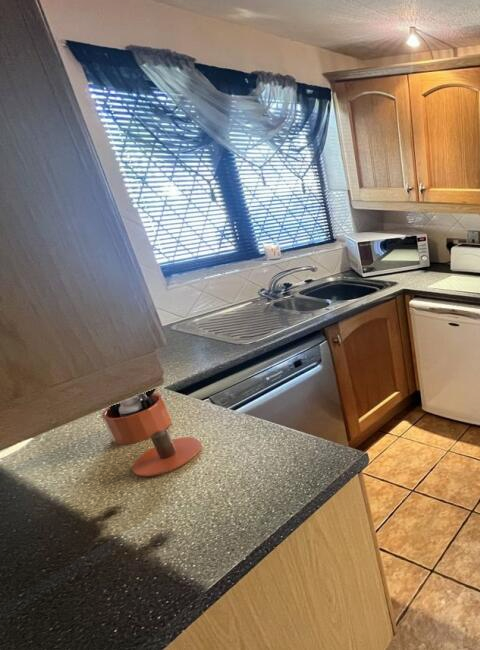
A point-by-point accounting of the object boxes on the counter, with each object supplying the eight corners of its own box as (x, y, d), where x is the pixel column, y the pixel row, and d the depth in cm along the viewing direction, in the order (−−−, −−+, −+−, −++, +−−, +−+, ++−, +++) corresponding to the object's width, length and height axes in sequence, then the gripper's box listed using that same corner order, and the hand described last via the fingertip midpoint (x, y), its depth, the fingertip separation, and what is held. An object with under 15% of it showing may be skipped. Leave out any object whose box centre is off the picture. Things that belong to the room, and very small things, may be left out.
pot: (102, 448, 94) (90, 423, 91) (130, 420, 104) (119, 397, 101) (158, 438, 97) (147, 414, 94) (180, 412, 107) (171, 389, 105)
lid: (121, 484, 83) (108, 458, 81) (152, 446, 94) (141, 423, 92) (188, 471, 87) (177, 445, 84) (210, 436, 98) (202, 413, 95)
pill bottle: (159, 425, 101) (146, 394, 98) (133, 437, 97) (118, 405, 93) (151, 419, 104) (138, 388, 100) (125, 430, 100) (110, 398, 96)
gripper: (50, 363, 86) (84, 428, 93) (142, 352, 91) (168, 415, 98) (74, 349, 93) (104, 411, 100) (159, 339, 98) (182, 399, 104)
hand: (135, 412), depth 99 cm, fingers closed on pill bottle, 5 cm apart
